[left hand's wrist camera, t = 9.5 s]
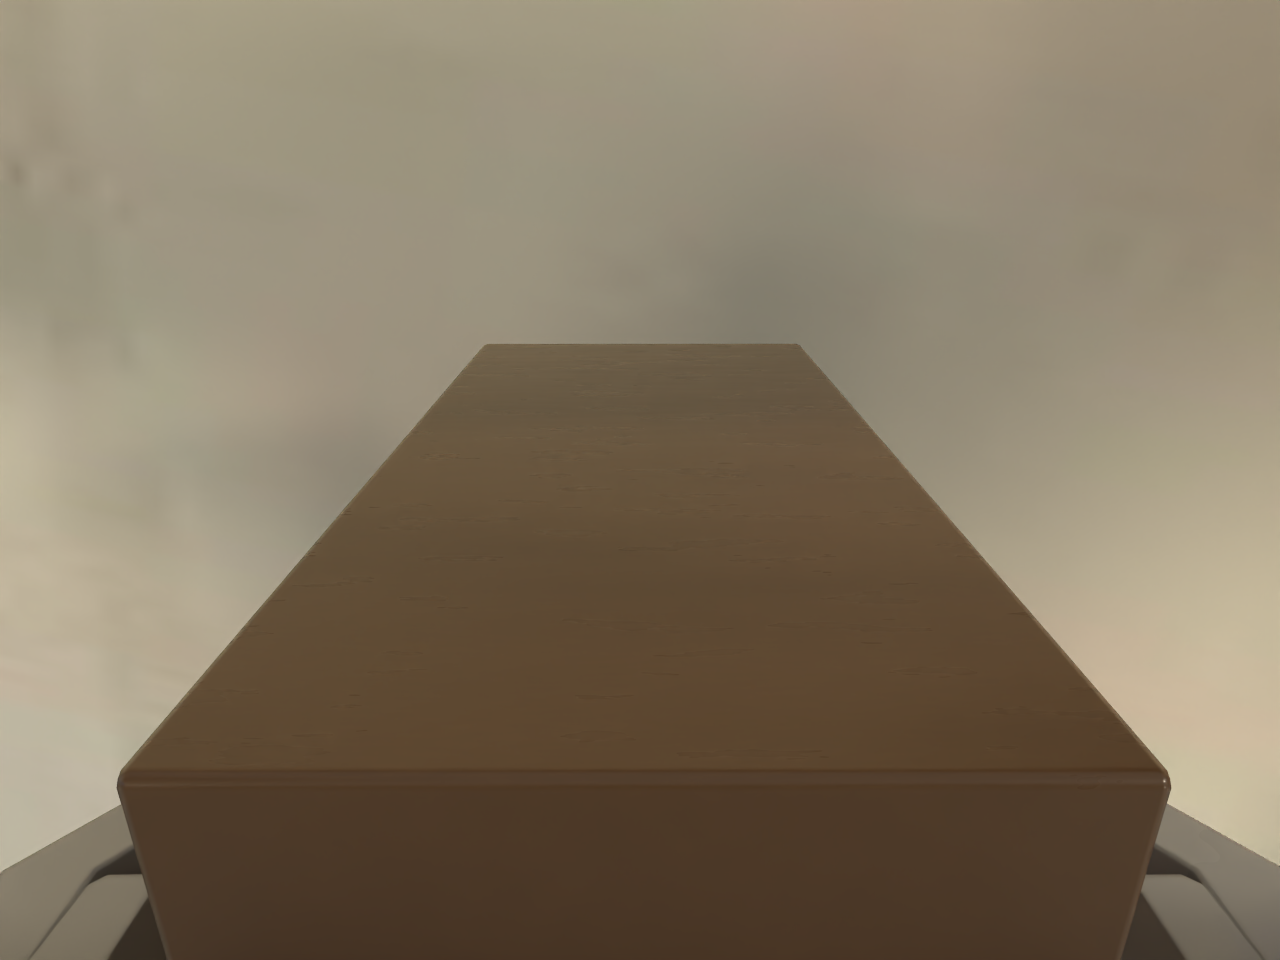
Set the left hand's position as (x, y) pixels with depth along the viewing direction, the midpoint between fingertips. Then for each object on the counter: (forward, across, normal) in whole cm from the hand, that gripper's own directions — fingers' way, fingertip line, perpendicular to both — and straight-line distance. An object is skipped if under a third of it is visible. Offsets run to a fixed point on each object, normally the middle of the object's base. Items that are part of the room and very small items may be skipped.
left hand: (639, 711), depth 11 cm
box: (+6, 0, +7) cm, 9 cm away
